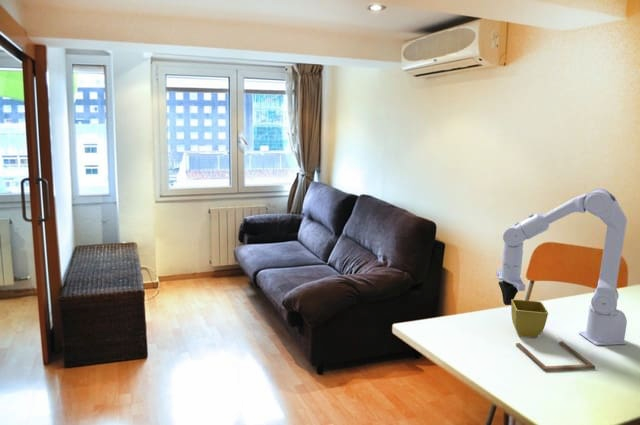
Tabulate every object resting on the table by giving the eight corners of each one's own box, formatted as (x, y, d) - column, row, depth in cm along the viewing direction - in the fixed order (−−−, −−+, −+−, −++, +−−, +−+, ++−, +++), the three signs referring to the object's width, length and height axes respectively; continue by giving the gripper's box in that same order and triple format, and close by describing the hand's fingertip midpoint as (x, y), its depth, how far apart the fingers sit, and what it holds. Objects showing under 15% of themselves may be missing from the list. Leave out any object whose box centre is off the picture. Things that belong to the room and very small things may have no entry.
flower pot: (545, 342, 139) (548, 312, 137) (513, 339, 141) (516, 310, 139) (538, 329, 147) (541, 301, 146) (508, 326, 149) (510, 299, 147)
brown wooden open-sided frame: (562, 343, 138) (562, 341, 138) (594, 368, 124) (595, 366, 124) (515, 345, 136) (516, 343, 136) (543, 371, 123) (544, 368, 123)
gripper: (489, 257, 159) (485, 296, 161) (511, 271, 145) (506, 313, 147) (509, 257, 160) (505, 295, 162) (533, 270, 145) (528, 313, 148)
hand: (507, 304), depth 155 cm, fingers closed
